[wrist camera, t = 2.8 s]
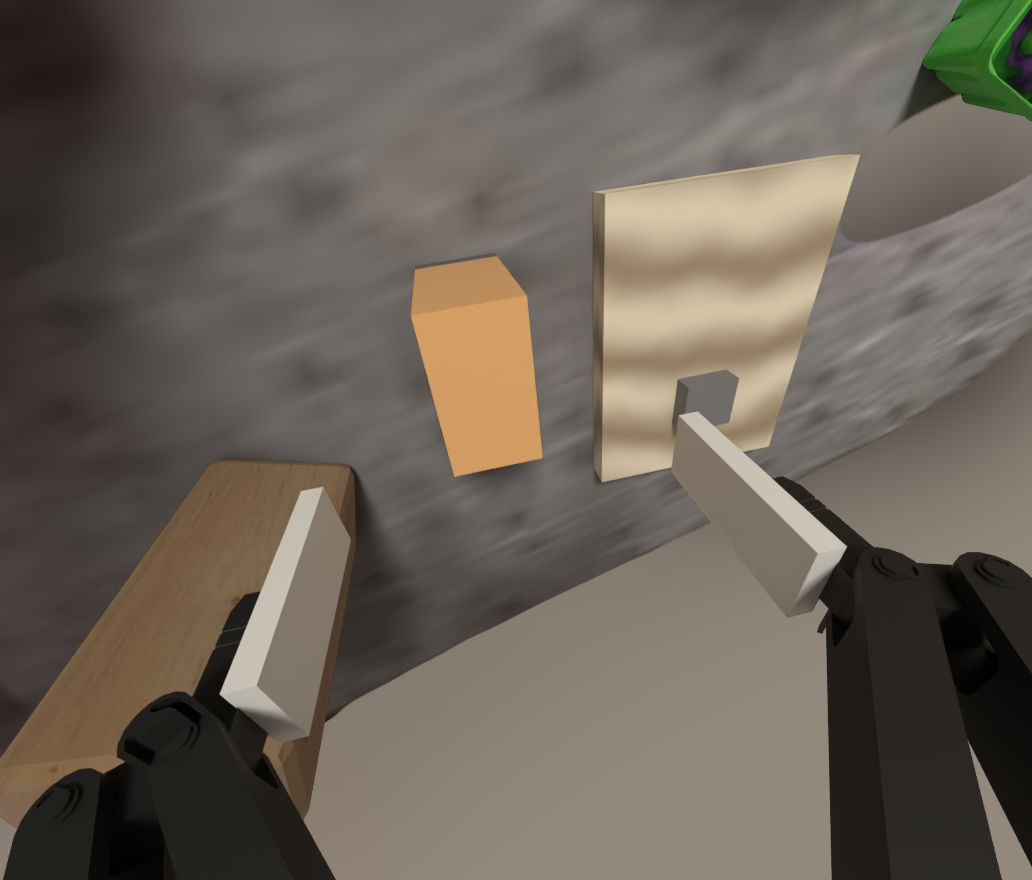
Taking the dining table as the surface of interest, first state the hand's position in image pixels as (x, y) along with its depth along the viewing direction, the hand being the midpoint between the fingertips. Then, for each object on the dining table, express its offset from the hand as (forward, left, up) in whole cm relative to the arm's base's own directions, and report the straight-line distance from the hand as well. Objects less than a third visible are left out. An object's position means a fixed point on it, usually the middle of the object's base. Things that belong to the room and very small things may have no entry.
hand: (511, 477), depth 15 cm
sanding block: (0, 0, -16) cm, 16 cm away
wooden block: (+12, -17, -16) cm, 26 cm away
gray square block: (+8, +17, -14) cm, 23 cm away
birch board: (+4, +17, -16) cm, 23 cm away
